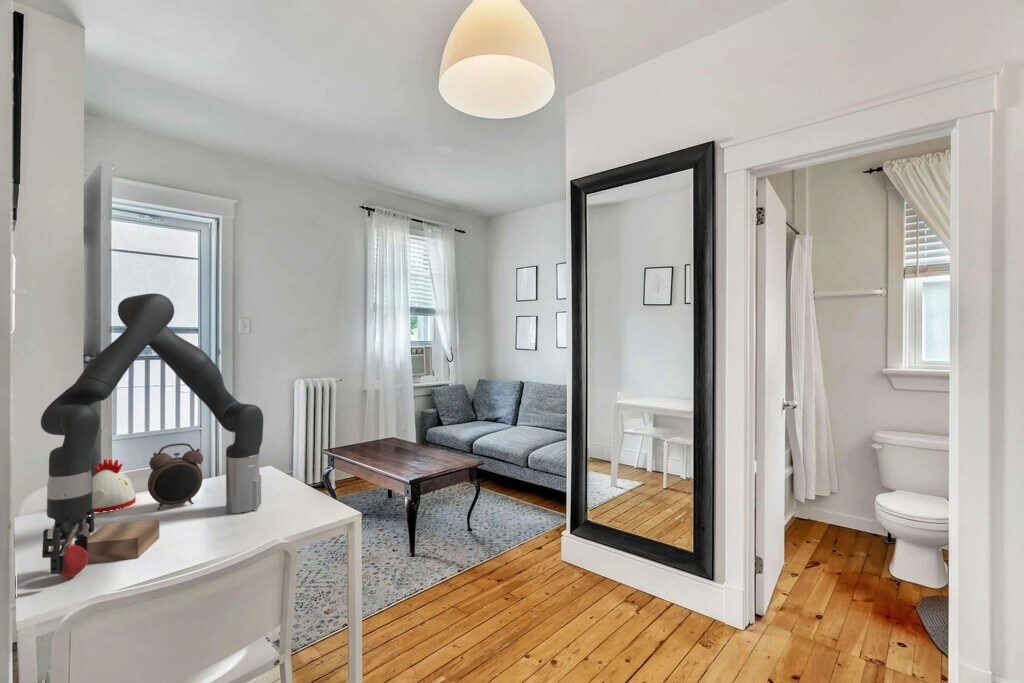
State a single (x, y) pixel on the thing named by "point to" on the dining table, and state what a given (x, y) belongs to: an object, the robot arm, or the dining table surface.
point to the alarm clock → (175, 476)
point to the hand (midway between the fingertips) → (69, 563)
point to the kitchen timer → (111, 488)
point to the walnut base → (122, 540)
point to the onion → (74, 560)
